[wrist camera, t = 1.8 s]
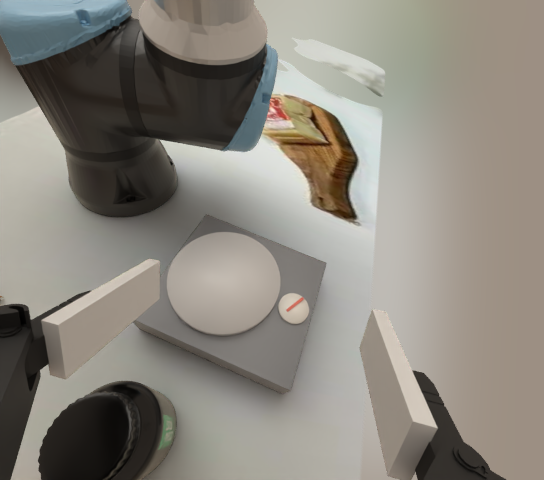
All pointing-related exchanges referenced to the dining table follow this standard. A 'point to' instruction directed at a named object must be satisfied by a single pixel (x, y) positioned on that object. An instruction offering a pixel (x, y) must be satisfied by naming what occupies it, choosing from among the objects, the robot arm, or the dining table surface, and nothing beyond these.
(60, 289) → the dining table surface
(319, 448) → the dining table surface
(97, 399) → the supplement bottle
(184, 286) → the kitchen scale
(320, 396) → the dining table surface
